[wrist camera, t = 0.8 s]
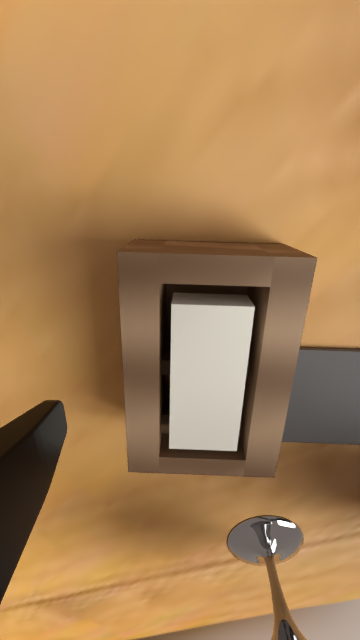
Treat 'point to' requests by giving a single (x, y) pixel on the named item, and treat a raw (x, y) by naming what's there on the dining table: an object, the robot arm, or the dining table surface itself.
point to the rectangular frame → (264, 355)
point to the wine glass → (270, 561)
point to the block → (208, 369)
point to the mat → (325, 397)
